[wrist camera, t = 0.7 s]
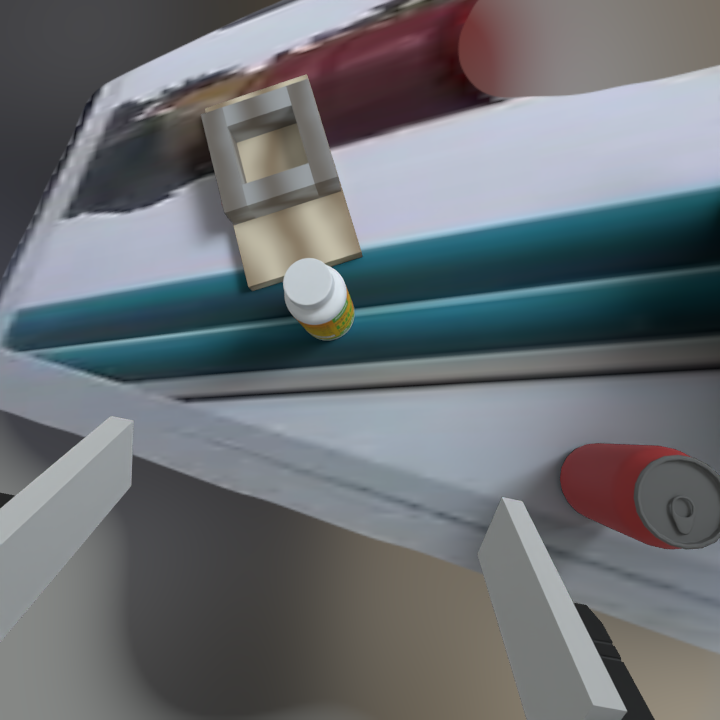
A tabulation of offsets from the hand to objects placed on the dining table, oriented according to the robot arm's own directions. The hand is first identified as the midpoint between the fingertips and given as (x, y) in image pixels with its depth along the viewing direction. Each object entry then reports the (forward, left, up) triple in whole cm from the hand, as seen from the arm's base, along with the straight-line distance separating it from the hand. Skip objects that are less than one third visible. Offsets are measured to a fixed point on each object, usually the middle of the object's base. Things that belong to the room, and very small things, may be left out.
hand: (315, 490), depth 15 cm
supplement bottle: (0, -15, -26) cm, 29 cm away
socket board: (+1, -31, -25) cm, 40 cm away
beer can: (-19, +7, -26) cm, 33 cm away
